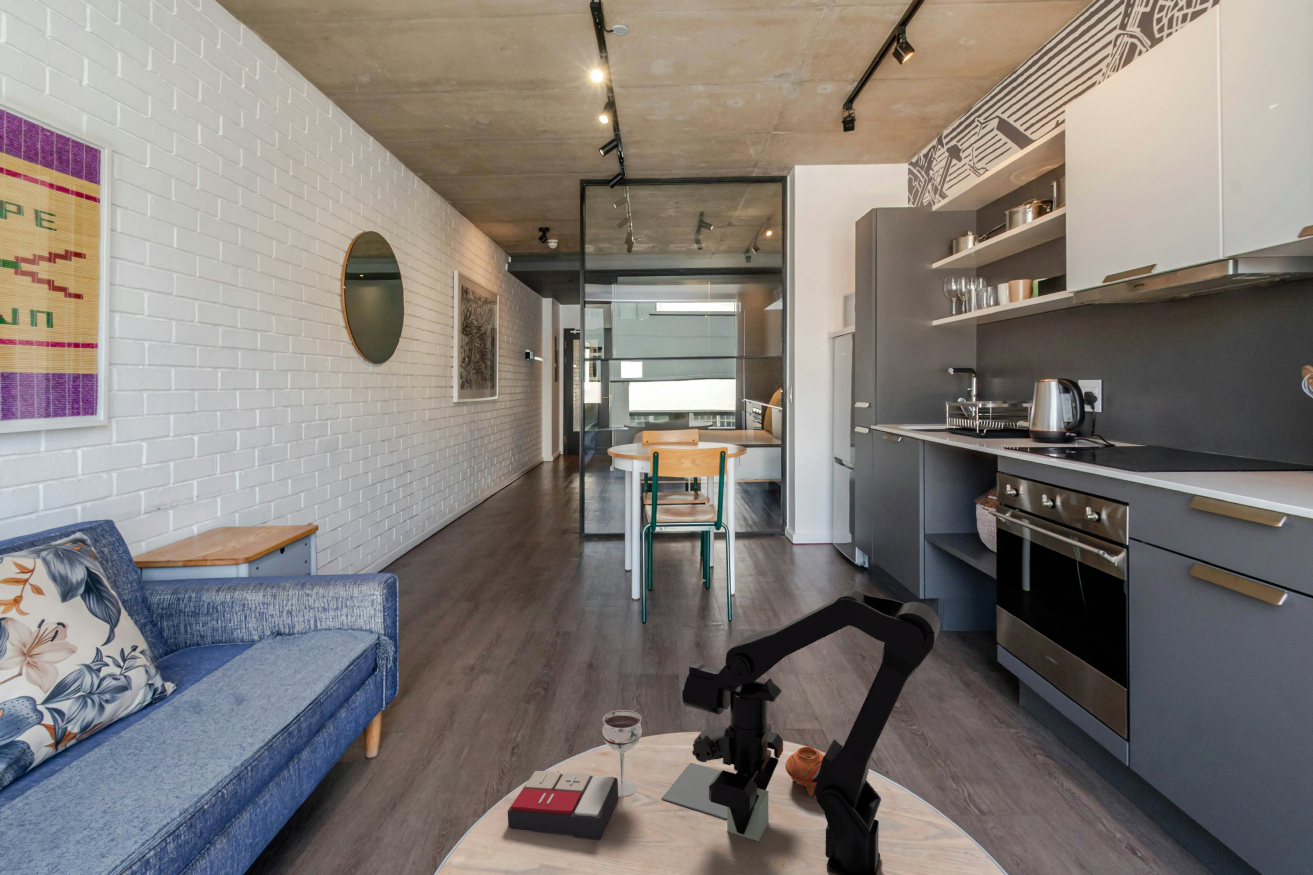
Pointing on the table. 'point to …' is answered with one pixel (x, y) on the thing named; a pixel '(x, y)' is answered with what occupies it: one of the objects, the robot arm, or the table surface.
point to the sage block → (753, 818)
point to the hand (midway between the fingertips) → (748, 819)
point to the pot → (804, 766)
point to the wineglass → (622, 740)
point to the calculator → (565, 804)
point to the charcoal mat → (695, 790)
